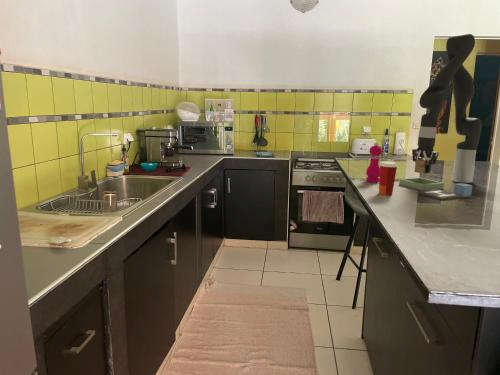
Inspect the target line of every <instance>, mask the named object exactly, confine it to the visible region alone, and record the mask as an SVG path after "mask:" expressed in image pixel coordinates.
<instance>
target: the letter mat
mask: <svg viewBox="0 0 500 375" xmlns="http://www.w3.org/2000/svg"><path fill="white" fill-rule="evenodd" d="M416 193H417V195H421V196H425V197H429V198H431V199H435V200H439V201H449V200H457V199H459V200H460V199H463V198H464V197H463V196H462V195H458V194H454V193H453V192H450V191H446V190H443V189H440V190H427V191H419V190H417V192H416Z"/></svg>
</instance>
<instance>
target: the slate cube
mask: <svg viewBox="0 0 500 375" xmlns="http://www.w3.org/2000/svg"><path fill="white" fill-rule="evenodd" d="M453 186H454V187H453V192H452V193H454V194H458V195H462V196H463V198H466V197H472V190H473V185H472V184H469V183H461V182H458V183H454V184H453Z"/></svg>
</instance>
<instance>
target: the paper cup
mask: <svg viewBox="0 0 500 375" xmlns="http://www.w3.org/2000/svg"><path fill="white" fill-rule="evenodd" d="M379 167H380V175H379V177H378V178H379V182H378V194H379V195H382V196H392V195H393V191H394V186H395V181H396V180H395V179H396V174H397V169H398V164H397V162H393V161H380V162H379Z"/></svg>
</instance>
